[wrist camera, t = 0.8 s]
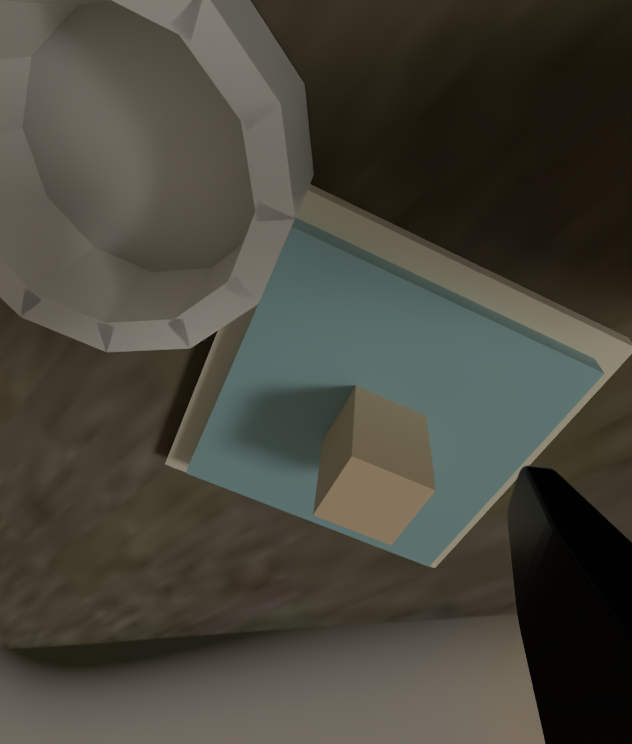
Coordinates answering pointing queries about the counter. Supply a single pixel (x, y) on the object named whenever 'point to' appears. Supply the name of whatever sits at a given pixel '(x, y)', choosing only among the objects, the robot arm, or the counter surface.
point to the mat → (437, 269)
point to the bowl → (144, 166)
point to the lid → (381, 399)
